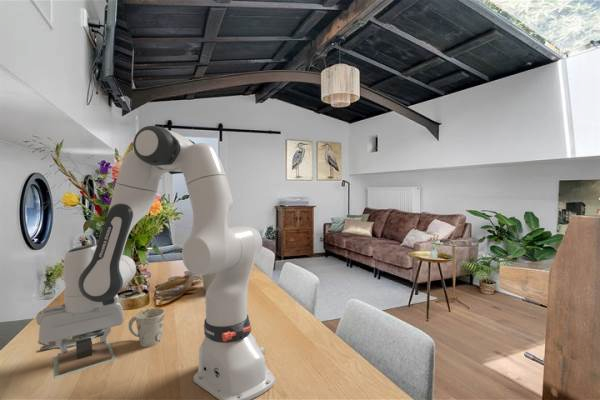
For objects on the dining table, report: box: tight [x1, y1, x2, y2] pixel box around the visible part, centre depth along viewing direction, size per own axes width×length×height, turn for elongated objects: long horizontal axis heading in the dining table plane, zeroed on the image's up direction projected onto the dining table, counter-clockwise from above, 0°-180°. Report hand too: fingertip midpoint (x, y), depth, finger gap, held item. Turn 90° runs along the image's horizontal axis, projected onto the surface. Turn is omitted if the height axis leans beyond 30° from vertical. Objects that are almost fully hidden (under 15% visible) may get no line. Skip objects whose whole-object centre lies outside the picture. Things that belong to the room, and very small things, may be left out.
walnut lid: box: [57, 337, 112, 375], centre depth 90 cm, size 12×12×5 cm
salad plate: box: [39, 329, 105, 351], centre depth 102 cm, size 19×18×5 cm
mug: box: [128, 307, 165, 348], centre depth 99 cm, size 8×13×10 cm, turn 78°
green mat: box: [52, 340, 117, 379], centre depth 90 cm, size 14×14×1 cm
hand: (84, 347), depth 90 cm, fingers open, 8 cm apart
